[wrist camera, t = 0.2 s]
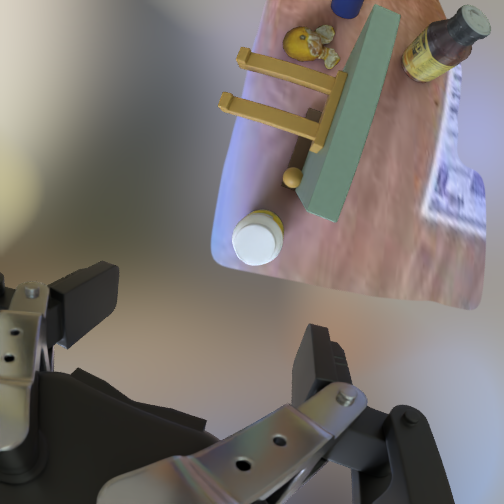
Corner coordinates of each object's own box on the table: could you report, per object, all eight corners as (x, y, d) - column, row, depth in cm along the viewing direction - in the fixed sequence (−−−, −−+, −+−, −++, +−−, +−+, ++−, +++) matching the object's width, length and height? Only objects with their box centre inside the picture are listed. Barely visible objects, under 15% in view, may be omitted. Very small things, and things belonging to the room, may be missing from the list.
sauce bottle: (409, 43, 34) (462, -15, 15) (438, 68, 34) (505, 23, 15) (391, 67, 36) (445, 9, 17) (422, 93, 36) (492, 52, 17)
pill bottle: (280, 254, 45) (276, 277, 34) (238, 246, 45) (223, 267, 35) (287, 212, 43) (287, 223, 33) (245, 205, 44) (231, 213, 33)
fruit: (341, 69, 37) (345, 61, 34) (286, 71, 38) (285, 63, 35) (332, 25, 35) (335, 14, 32) (279, 27, 37) (278, 16, 33)
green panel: (251, 175, 43) (174, 166, 14) (278, 99, 40) (255, -30, 11) (324, 201, 42) (392, 246, 13) (350, 125, 39) (449, 41, 10)
